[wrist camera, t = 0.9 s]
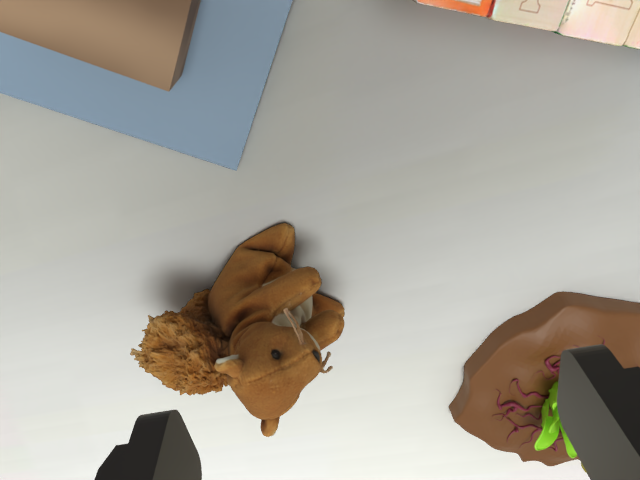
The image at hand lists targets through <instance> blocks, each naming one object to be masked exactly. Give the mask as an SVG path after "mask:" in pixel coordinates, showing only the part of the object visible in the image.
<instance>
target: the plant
mask: <svg viewBox="0 0 640 480" xmlns="http://www.w3.org/2000/svg"><path fill="white" fill-rule="evenodd" d="M599 344H602V345H605V346H606V347H607V348H609V350H610V351H611V352H612V353H613V355H614V356H615V357H616V359H617V360H618V361H619V363H620V364H621V365H622V367H623V368H624V369H625V368H631V367H640V303H636V302H629V301H624V300H617V299H610V298H602V297H595V296H590V295H585V294H580V293H572V292H557V293H554V294H553V295H551V296H550V297H548V298H547V299H545V300H544V301H542V302H541V303H539V304H538V305H536V306H535V307H533V308H532V309H530V310H528V311H526V312H524V313H522V314H519V315H516V316H514V317H512V318H510V319H508V320H507V321H506V322H504V323H503V324H502V325H500V326H499V327H498V328H496V329H495V330H494V331H493V332H492V333H491V334H490V335H489V336H488V337H487V339H486V340H485V341H484V342H483V343H482V345H481V346H480V347H479V348H478V349H477V350H476V351H475V352H474V353H473V355H472V356H471V357H470V358H469V359H468V360H467V362H466V363H465V365H464V381H463V384H462V386H461V388H460V390H459V392H458V394H457V395H456V397H455V399H454V400H453V401H452V403H451V404H450V405H449V409H450V411H451V414H452V416H453V419H454V421H455V422H456V423H457V424H459V425H460V426H461V427H462V428H463V429H464V430H465V431H467V432H469V433H470V434H472V435H474V436H476V437H478V438H480V439H481V440H483V441H485V442H486V443H487V444H488V445H489V446H491V447H492V448H494V449H497V450H501V451H506V452H514V453H517V454H518V455H519V456H520V458H521V460H522V461H523V462H526V461H540V462H542V463H544V464H545V465H547V466H555V465H558V464H561V463H564V462H567V461H571V460H575V459H579V457H578V455H577V453H576V452H575V450H574V448H573V446H572V444H571V442H570V440H569V439H568V437H567V435H566V433H565V431H564V429H563V427H562V424H561V421H560V418H559V414H558V409H557V392H558V381H559V370H560V359H561V354H562V352H563V350H567V349H574V348H580V347H586V346H593V345H599ZM579 460H580V459H579ZM581 466H582V468H583V469H584V471H585V472H586V470H585V468H584V466H583V465H582V463H581ZM586 473H587V472H586Z"/></svg>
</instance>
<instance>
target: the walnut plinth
mask: <svg viewBox="0 0 640 480" xmlns="http://www.w3.org/2000/svg"><path fill="white" fill-rule="evenodd" d="M200 2H201V0H0V32H2V33H5V34H7V35H10V36H13V37H16V38H19V39H21V40H24V41H27V42H30V43H33V44H36V45H38V46H41V47H44V48H47V49H50V50H53V51H55V52H58V53H61V54H64V55H67V56H69V57H72V58H75V59H78V60H81V61H84V62H86V63H89V64H92V65H95V66H98V67H100V68H103V69H106V70H109V71H112V72H115V73H117V74H120V75H123V76H126V77H129V78H131V79H134V80H137V81H140V82H143V83H146V84H148V85H151V86H154V87H157V88H160V89H162V90H165V91H168V92H169V91H170V90H171V89H172V88H173V86H174V85H175V84H176V82H177V81H178V80H179V79H180V77H181V76H182V73H183V69H184V65H185V61H186V57H187V53H188V50H189V46H190V42H191V38H192V34H193V30H194V26H195V22H196V18H197V14H198V10H199V6H200Z"/></svg>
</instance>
